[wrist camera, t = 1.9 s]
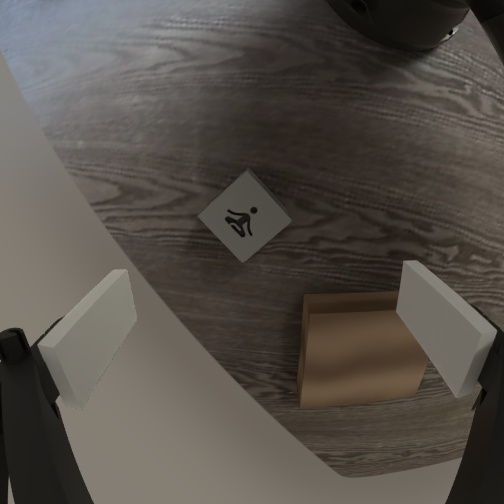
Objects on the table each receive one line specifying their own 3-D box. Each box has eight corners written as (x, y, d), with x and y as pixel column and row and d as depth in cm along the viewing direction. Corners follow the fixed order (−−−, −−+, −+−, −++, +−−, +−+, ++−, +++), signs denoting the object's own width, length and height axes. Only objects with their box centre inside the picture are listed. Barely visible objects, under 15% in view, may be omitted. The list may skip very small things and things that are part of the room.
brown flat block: (304, 293, 30) (310, 313, 27) (427, 289, 30) (444, 305, 26) (296, 384, 34) (299, 408, 30) (404, 374, 34) (415, 394, 30)
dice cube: (207, 204, 28) (197, 216, 23) (248, 167, 27) (246, 170, 22) (245, 244, 29) (242, 263, 24) (286, 208, 28) (292, 221, 23)
